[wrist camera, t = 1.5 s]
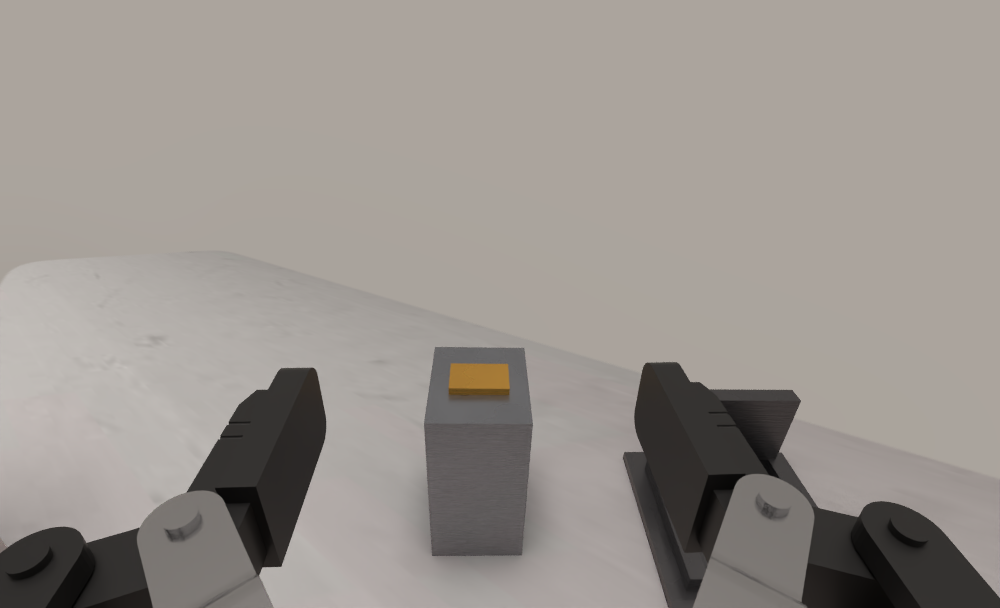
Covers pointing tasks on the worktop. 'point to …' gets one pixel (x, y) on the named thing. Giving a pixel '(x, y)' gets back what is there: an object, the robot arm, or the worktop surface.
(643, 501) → the bracket
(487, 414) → the metal block with pad
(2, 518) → the worktop surface
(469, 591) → the worktop surface
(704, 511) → the robot arm
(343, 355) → the worktop surface
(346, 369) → the worktop surface
